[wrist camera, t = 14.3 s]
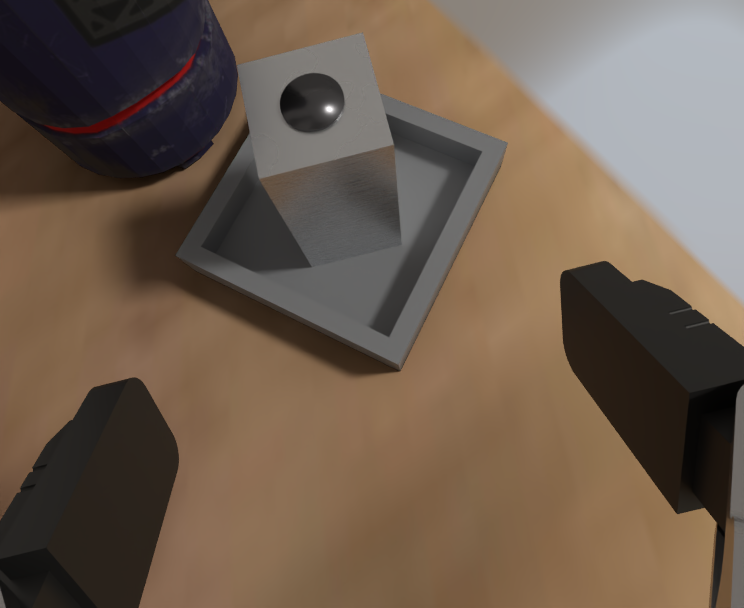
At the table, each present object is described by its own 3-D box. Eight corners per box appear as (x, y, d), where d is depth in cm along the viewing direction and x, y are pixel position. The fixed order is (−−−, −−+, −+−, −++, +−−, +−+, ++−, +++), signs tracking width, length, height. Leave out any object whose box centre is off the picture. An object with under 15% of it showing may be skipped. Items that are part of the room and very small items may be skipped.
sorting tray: (194, 270, 30) (175, 255, 28) (303, 88, 32) (294, 60, 30) (400, 371, 28) (398, 364, 25) (500, 166, 30) (507, 142, 28)
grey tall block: (312, 267, 29) (257, 176, 19) (294, 186, 30) (235, 62, 20) (401, 244, 29) (393, 142, 19) (380, 164, 30) (362, 29, 20)
